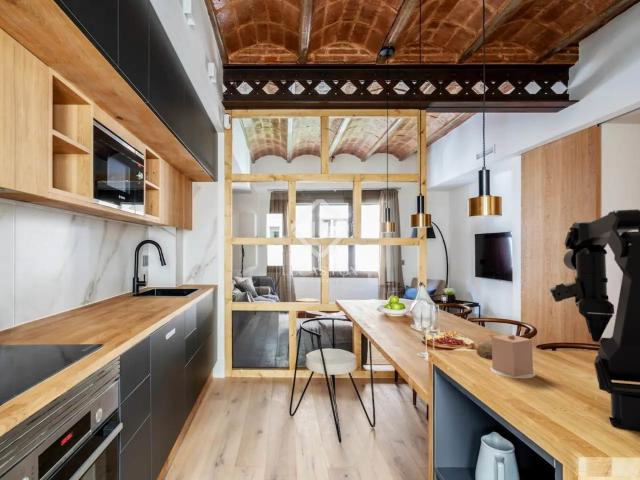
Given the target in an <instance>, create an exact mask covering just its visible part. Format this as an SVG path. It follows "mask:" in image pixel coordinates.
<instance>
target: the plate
mask: <svg viewBox="0 0 640 480" xmlns="http://www.w3.org/2000/svg"><path fill="white" fill-rule="evenodd" d="M490 370H491V372H492V373H495V374H496V375H499V376H502V377H507V378H513V379H531V378H534V377H535V376H536V375H537V374H536V371H534V370H533V373H532V374H527V375H522V376H517V377H513V376H510V375H508V374H505V373H502V372H500V371H497V370H494V369H493V367H492V366H490Z"/></svg>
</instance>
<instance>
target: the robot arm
mask: <svg viewBox="0 0 640 480" xmlns="http://www.w3.org/2000/svg"><path fill="white" fill-rule="evenodd" d="M563 244H564V245H565V250H568V251H567V252H566V253H565V254H564V257H563V263H564V265H565V267H566V268H568V269H569V270H573V271H576V276H574V282H571V283H565V284H564V283H560V284H555V286H554V287H551V288H549V291H550V293H551V296H552V297H553V300H554V302H555V303H558V302H562V301H563V300H567V299H570V298H574V302H575V306H576V307H577V308H578V310H577V311H578V313H579V314H580V315H581V316H582V317H583V318H584V320H585V323H586V327H587V330H588V333H589V334H590V335H591V340H592V342H594V343H599V347H598V351H597V355H596V356H595V359H594V363H593V366H594V369H595V372H596V373H595V374H596V378H597V382H598V389H599V390H600V391H604V392H606V393H608V395H609V394H610V408H611V416H608V419H609V421H610V425H611V426H613V427H617V428H623V429H628V430H633V431H637V432H640V209H638V208H636V209H618V210H617V209H616V210H615V209H614V210H613V211H610V212H608V214H606V215H603V216H601V217H598V218H596V219H595V220H592V221H579V222H578V221H575V222H573V224H572V225H571V226H570V227H569V229H568V232H567V234H566V236H565V241H564V243H563ZM607 245H608V246H609V248H610V250H611V251H612V253H613V255H614V258H613V259H614V261H615V263H616V264H617V266H618V267H619V269H620V271H621V272H622V277H621V278H622V279H621V284H620V290H619V295H618V302H617V308H616V314H615V306H614V304H613V303H612V302H611V301H609V295H608V286H607V283H609V281H608V280H609V279H608V277H607V265H606V264H607V263H606V255H607V254H608V251H607V250H606V249H605V248H606V247H607ZM614 314H615V318H614V326H613V330H612V331H613V332H612V336H611V337H602V336H603V334H604V333H605V331H606V329H607V326H608V324H609V323H610V322H611V319H612V318H613V317H614V316H613V315H614ZM615 381H616V382H615ZM626 382H627V383H626ZM636 383H637V384H636Z"/></svg>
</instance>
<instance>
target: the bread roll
mask: <svg viewBox="0 0 640 480" xmlns="http://www.w3.org/2000/svg"><path fill="white" fill-rule="evenodd" d="M476 348H477V349H476V354H477V356H479V357H481V358H483V359H491V360H492V338H490V339H487V340H484V341H482V342H480V343H479V344H478V346H477V347H476Z"/></svg>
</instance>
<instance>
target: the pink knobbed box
mask: <svg viewBox="0 0 640 480" xmlns="http://www.w3.org/2000/svg"><path fill="white" fill-rule="evenodd" d="M491 339H492V359H491V361H492V362H491V363H492V366H491V367H493V369H494V370H497V371H500V372H502V373H505V374H508V375H510V376H513V377H517V376H522V375H527V374H532V373H533V371H534V358H533V357H534V356H533V339H531V338H530V339H529V338H526V337H523V336H519V335H515V334H510V333H508V334H502V335H494V336H491Z"/></svg>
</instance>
